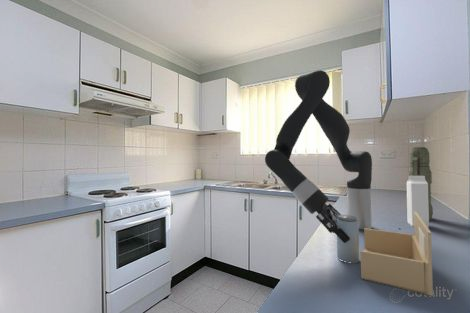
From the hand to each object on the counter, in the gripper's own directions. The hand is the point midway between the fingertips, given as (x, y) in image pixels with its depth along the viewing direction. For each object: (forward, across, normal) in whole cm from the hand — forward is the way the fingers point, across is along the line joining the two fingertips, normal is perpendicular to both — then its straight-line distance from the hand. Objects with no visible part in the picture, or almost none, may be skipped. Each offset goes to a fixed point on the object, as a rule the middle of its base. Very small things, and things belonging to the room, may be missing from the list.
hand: (349, 236), depth 68 cm
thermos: (+23, +67, -13) cm, 72 cm away
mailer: (+12, 0, -2) cm, 12 cm away
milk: (+21, +52, -11) cm, 57 cm away
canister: (+5, 0, +5) cm, 7 cm away
